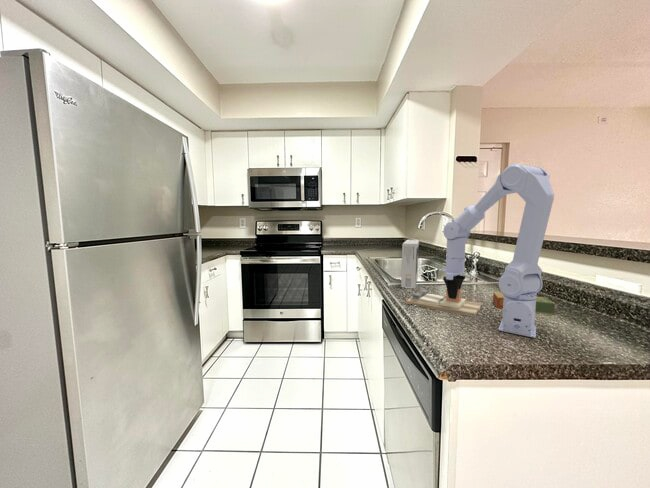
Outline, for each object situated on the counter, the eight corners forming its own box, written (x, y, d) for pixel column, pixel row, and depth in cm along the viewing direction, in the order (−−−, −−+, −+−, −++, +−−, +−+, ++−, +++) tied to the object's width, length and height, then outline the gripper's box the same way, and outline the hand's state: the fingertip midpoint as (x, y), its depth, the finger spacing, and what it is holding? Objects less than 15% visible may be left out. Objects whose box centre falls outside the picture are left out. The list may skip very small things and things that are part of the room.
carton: (492, 303, 102) (493, 291, 101) (546, 308, 95) (546, 296, 95) (496, 309, 94) (497, 297, 94) (555, 315, 88) (556, 302, 87)
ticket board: (474, 317, 85) (475, 306, 85) (405, 303, 98) (405, 295, 98) (481, 306, 96) (482, 297, 96) (418, 295, 109) (418, 287, 109)
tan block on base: (459, 308, 89) (460, 293, 89) (440, 305, 93) (440, 290, 92) (465, 301, 97) (466, 287, 97) (447, 298, 101) (448, 285, 100)
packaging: (415, 289, 120) (417, 243, 118) (400, 288, 122) (402, 243, 120) (417, 277, 148) (419, 239, 146) (405, 276, 150) (406, 239, 148)
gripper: (448, 255, 102) (446, 291, 103) (436, 259, 90) (435, 299, 92) (469, 256, 98) (467, 294, 99) (460, 260, 86) (458, 303, 87)
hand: (453, 297), depth 95 cm, fingers closed on tan block on base, 3 cm apart
